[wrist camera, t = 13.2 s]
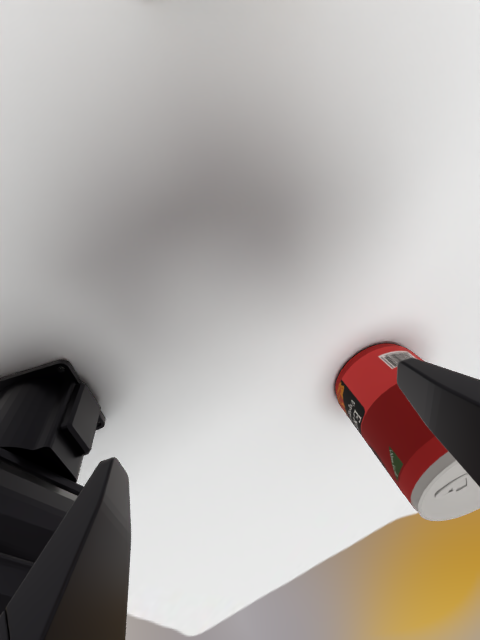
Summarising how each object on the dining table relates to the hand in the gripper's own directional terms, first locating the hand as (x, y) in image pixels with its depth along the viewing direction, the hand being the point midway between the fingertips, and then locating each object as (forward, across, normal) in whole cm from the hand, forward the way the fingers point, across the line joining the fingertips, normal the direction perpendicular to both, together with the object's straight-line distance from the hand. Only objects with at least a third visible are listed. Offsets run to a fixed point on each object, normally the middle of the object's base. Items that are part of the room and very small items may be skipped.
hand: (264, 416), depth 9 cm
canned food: (+13, -12, +14) cm, 23 cm away
